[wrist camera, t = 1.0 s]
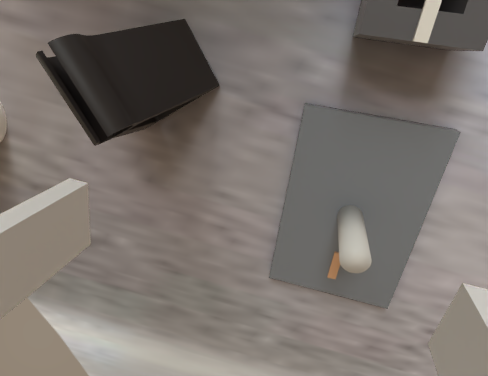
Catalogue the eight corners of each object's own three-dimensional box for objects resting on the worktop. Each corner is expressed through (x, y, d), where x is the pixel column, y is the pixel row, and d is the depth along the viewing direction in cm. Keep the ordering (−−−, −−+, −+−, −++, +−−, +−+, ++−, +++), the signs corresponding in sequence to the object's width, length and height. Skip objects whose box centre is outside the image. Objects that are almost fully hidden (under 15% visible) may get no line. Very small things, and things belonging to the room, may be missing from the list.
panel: (305, 103, 28) (297, 121, 21) (455, 129, 26) (503, 159, 19) (270, 271, 36) (255, 328, 29) (385, 301, 34) (401, 370, 27)
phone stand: (186, 19, 28) (97, 1, 17) (220, 85, 29) (158, 107, 19) (111, 71, 31) (-4, 84, 21) (145, 128, 33) (54, 168, 22)
